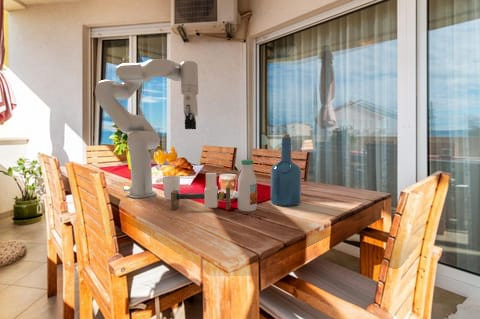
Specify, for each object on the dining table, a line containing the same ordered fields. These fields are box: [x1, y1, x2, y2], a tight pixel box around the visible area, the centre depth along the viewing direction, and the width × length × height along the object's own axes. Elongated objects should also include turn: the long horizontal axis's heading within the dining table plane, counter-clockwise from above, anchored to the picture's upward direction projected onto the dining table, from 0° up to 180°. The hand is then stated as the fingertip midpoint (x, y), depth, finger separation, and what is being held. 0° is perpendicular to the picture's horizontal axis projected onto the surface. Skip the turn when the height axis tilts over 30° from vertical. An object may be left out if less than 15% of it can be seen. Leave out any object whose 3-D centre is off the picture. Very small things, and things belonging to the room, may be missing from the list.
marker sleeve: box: [203, 172, 219, 209], centre depth 110 cm, size 5×5×13 cm
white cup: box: [162, 175, 181, 201], centre depth 127 cm, size 8×8×10 cm
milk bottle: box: [237, 159, 258, 213], centre depth 107 cm, size 8×8×20 cm
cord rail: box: [170, 184, 231, 211], centre depth 110 cm, size 24×5×9 cm, turn 90°
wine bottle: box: [270, 133, 303, 207], centre depth 116 cm, size 14×13×30 cm
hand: (190, 129), depth 122 cm, fingers open, 9 cm apart
